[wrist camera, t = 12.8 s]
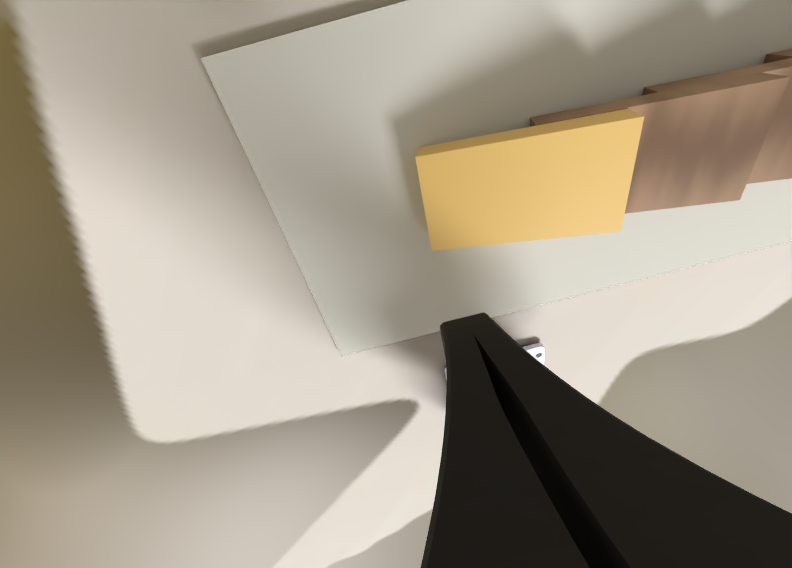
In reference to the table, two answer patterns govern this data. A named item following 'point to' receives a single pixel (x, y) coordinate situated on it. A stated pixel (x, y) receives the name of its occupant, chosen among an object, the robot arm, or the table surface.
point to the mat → (465, 118)
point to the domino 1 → (530, 181)
